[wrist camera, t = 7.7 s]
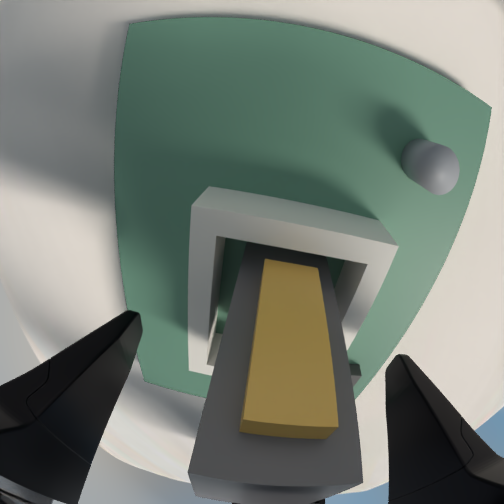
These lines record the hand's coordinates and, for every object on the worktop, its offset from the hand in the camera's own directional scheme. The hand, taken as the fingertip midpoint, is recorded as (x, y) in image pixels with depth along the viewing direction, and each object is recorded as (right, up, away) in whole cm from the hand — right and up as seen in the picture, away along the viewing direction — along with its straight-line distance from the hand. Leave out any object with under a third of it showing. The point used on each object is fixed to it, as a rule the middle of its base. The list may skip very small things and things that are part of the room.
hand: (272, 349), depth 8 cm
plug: (0, +2, +3) cm, 3 cm away
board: (0, +2, +4) cm, 4 cm away
